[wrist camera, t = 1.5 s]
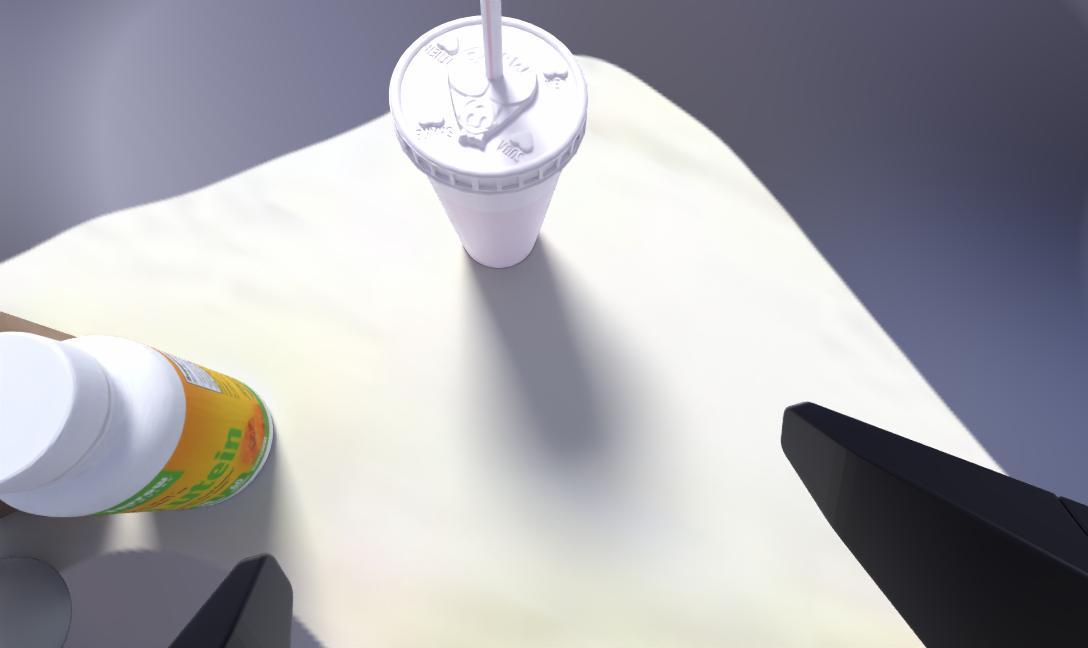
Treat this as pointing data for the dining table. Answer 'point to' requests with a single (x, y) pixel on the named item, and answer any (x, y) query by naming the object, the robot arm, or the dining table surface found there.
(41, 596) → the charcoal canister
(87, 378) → the supplement bottle
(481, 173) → the smoothie
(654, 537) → the dining table surface
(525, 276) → the dining table surface
